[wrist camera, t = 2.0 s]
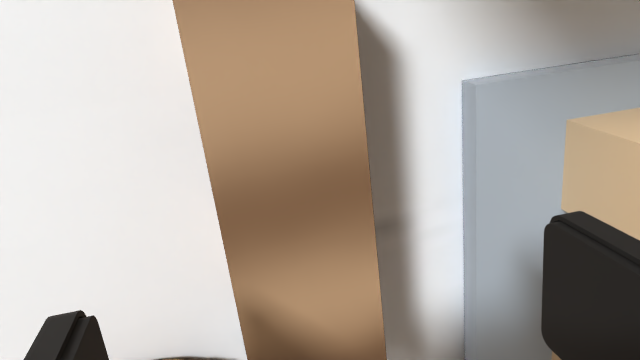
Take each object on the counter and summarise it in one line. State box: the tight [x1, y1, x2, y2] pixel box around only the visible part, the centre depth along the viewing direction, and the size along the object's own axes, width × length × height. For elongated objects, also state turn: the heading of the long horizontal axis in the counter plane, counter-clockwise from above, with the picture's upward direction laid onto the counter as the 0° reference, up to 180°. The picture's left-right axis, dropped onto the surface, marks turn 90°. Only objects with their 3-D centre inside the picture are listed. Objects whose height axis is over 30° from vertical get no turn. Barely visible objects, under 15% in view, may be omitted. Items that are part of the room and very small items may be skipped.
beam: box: [173, 0, 387, 360], centre depth 17 cm, size 14×4×6 cm, turn 7°
